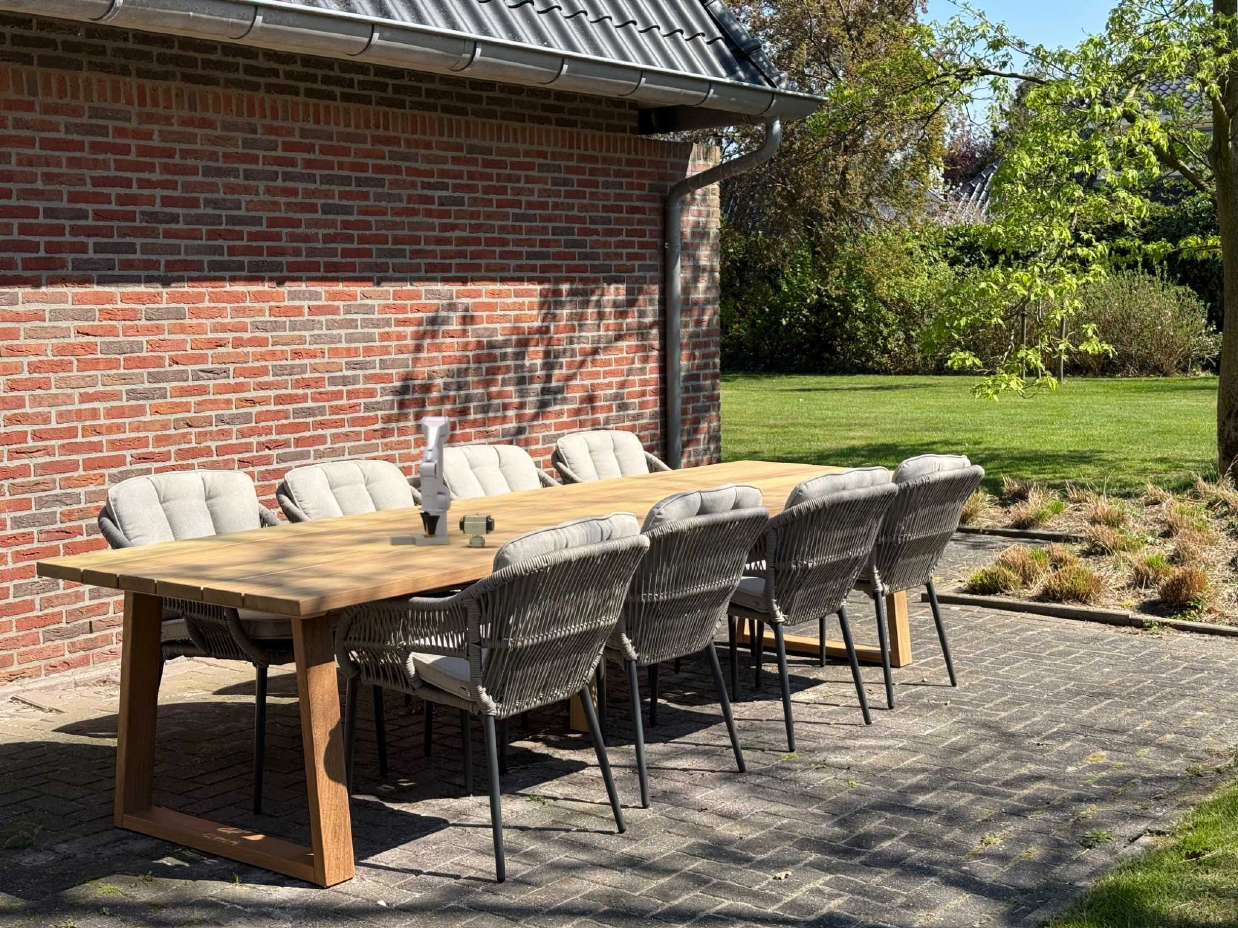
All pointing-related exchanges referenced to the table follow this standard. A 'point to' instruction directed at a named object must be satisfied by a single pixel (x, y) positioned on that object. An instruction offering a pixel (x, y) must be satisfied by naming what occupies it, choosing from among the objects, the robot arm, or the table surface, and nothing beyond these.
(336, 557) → the table surface
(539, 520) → the table surface
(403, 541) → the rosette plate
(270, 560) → the table surface
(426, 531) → the orange cylinder
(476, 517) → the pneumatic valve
